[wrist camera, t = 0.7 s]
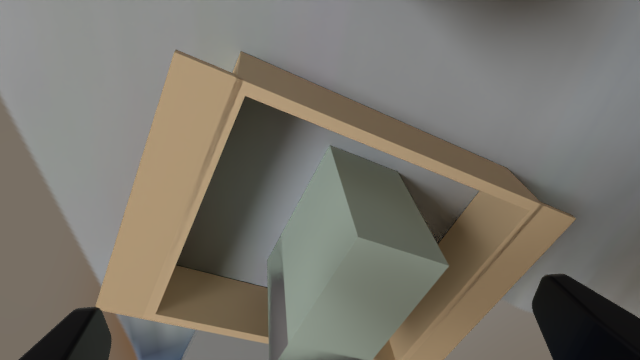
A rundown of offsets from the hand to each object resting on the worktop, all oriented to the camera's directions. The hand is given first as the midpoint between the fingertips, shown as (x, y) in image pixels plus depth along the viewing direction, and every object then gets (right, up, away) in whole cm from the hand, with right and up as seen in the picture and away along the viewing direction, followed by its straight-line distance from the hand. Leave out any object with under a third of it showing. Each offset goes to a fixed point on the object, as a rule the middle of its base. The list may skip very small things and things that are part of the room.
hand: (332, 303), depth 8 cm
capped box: (0, 0, +14) cm, 14 cm away
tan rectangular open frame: (0, 0, +14) cm, 14 cm away
